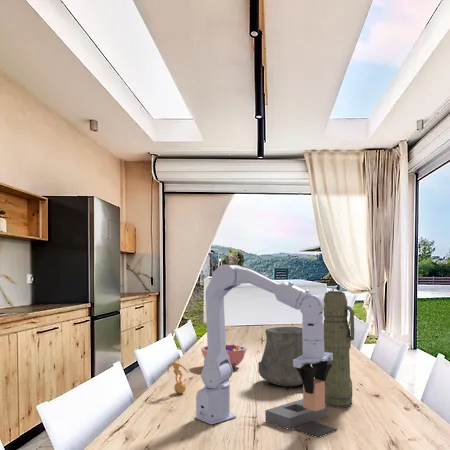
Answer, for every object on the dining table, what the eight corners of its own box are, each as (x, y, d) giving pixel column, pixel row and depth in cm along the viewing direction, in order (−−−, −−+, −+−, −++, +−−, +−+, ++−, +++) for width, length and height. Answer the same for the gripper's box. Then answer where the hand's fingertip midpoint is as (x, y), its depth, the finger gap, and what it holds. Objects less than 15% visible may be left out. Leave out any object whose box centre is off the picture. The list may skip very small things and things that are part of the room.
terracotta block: (315, 411, 117) (315, 384, 118) (303, 407, 120) (303, 380, 121) (324, 408, 120) (324, 381, 120) (312, 404, 123) (312, 378, 123)
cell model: (247, 372, 185) (247, 344, 186) (199, 372, 185) (199, 344, 186) (246, 363, 202) (245, 337, 203) (201, 363, 202) (201, 337, 203)
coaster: (318, 438, 113) (318, 436, 113) (293, 429, 120) (293, 427, 120) (337, 430, 119) (337, 428, 119) (312, 422, 125) (312, 421, 125)
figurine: (193, 393, 154) (193, 357, 155) (184, 398, 149) (184, 361, 150) (172, 390, 158) (172, 355, 159) (163, 395, 152) (163, 359, 153)
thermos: (324, 396, 149) (321, 290, 152) (360, 402, 143) (356, 291, 146) (315, 403, 142) (312, 291, 145) (352, 410, 135) (348, 292, 139)
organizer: (289, 429, 119) (289, 418, 120) (265, 421, 126) (265, 410, 126) (326, 416, 130) (326, 405, 130) (302, 409, 136) (302, 399, 137)
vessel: (292, 396, 150) (291, 335, 152) (246, 383, 167) (245, 328, 169) (331, 384, 165) (329, 329, 166) (285, 374, 181) (284, 323, 183)
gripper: (307, 344, 114) (308, 399, 112) (341, 338, 123) (343, 389, 122) (286, 341, 119) (287, 394, 118) (320, 335, 128) (322, 384, 127)
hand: (314, 391), depth 120 cm, fingers closed on terracotta block, 4 cm apart
